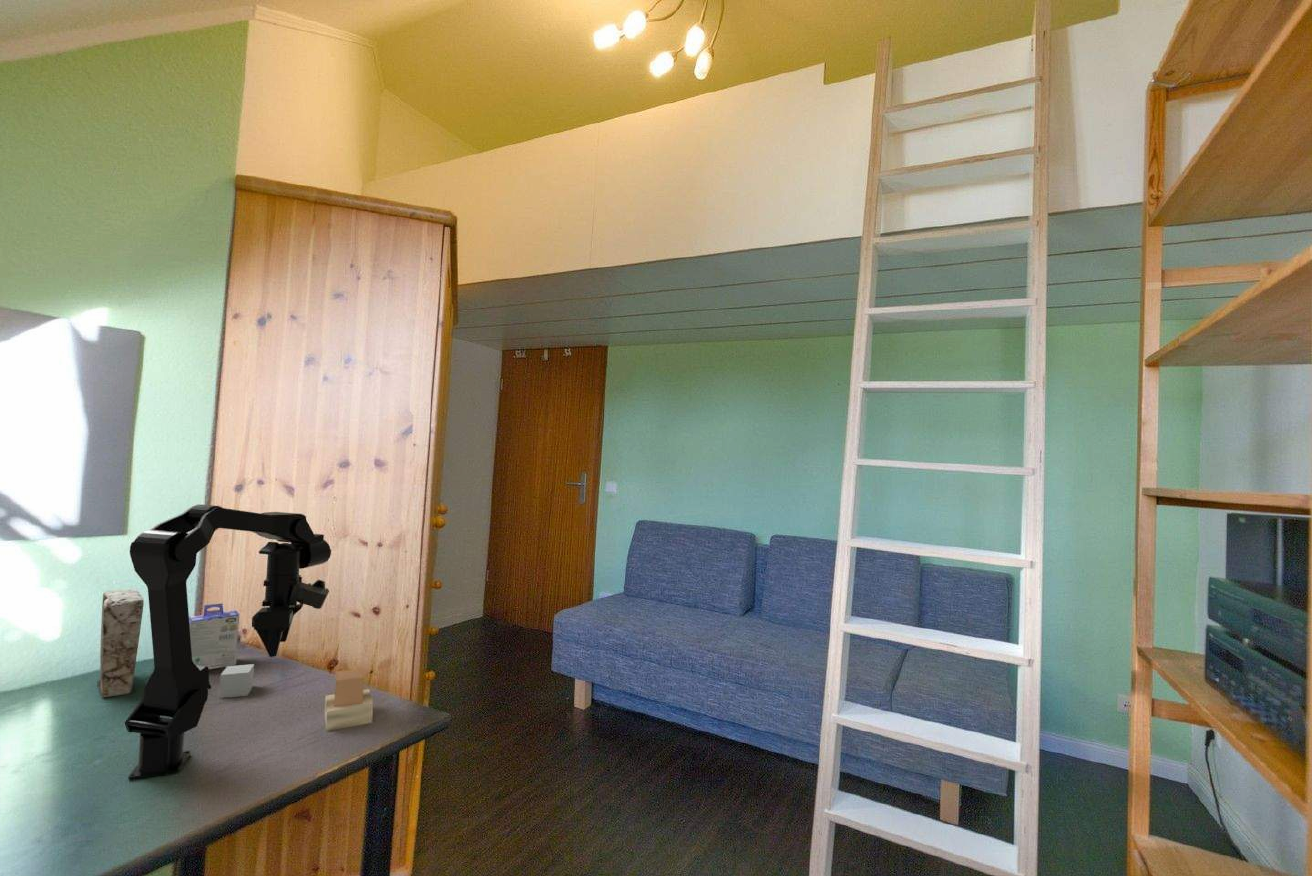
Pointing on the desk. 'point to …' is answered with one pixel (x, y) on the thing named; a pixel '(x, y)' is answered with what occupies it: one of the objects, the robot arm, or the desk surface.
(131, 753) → the desk surface
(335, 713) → the birch block
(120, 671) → the stone block
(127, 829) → the desk surface
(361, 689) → the tan cube
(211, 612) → the ink cartridge box
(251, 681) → the light grey cube
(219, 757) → the desk surface
